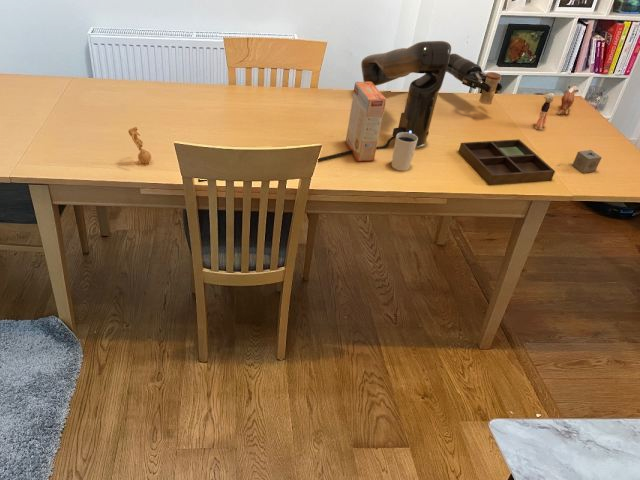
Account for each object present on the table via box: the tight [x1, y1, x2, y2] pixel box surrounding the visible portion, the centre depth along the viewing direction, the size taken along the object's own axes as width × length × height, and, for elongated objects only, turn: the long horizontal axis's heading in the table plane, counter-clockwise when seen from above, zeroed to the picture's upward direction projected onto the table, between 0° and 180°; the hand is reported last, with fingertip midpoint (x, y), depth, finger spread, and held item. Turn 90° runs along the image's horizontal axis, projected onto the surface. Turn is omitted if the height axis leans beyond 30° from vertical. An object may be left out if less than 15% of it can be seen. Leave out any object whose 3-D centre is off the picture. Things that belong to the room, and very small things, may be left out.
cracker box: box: [345, 81, 387, 162], centre depth 186 cm, size 14×6×21 cm, turn 9°
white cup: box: [391, 132, 418, 171], centre depth 183 cm, size 7×7×10 cm
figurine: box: [128, 126, 152, 164], centre depth 178 cm, size 8×6×12 cm
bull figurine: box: [557, 85, 579, 115], centre depth 222 cm, size 4×13×8 cm, turn 148°
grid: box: [458, 138, 556, 186], centre depth 188 cm, size 21×21×3 cm
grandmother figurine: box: [534, 92, 556, 131], centre depth 209 cm, size 8×4×13 cm, turn 168°
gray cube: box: [572, 149, 602, 174], centre depth 189 cm, size 5×5×5 cm
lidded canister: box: [478, 71, 502, 105], centre depth 210 cm, size 5×5×10 cm
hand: (495, 88), depth 207 cm, fingers closed on lidded canister, 4 cm apart
